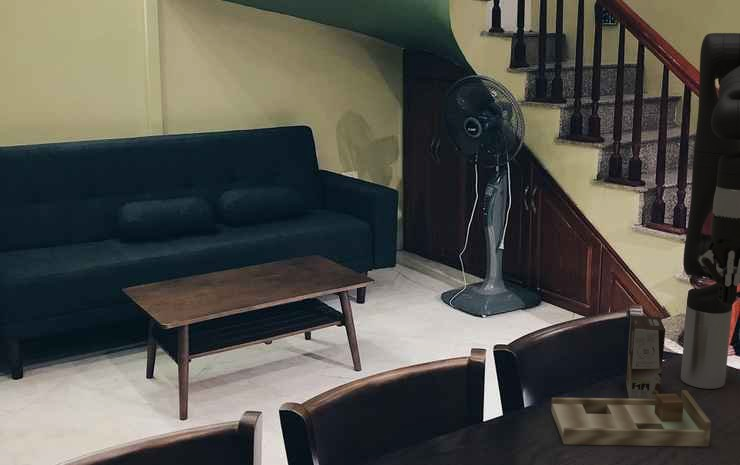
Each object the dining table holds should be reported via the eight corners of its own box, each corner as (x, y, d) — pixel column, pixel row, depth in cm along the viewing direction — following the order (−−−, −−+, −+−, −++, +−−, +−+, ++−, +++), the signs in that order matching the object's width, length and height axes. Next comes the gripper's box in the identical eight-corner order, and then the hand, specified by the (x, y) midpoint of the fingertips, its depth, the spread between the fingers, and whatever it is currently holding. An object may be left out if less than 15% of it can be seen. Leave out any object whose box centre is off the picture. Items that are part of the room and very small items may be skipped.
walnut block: (654, 412, 174) (655, 394, 173) (674, 412, 174) (675, 393, 173) (661, 421, 170) (663, 402, 169) (682, 421, 170) (683, 402, 169)
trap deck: (563, 444, 165) (564, 419, 164) (551, 411, 179) (552, 388, 178) (708, 446, 164) (711, 421, 163) (684, 413, 178) (686, 390, 177)
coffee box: (660, 403, 183) (666, 330, 179) (628, 400, 184) (633, 328, 181) (655, 386, 192) (661, 316, 188) (625, 383, 193) (630, 314, 189)
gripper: (755, 206, 162) (746, 295, 166) (690, 209, 159) (682, 300, 163) (781, 214, 155) (771, 307, 159) (713, 217, 152) (705, 312, 156)
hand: (726, 303), depth 161 cm, fingers closed
